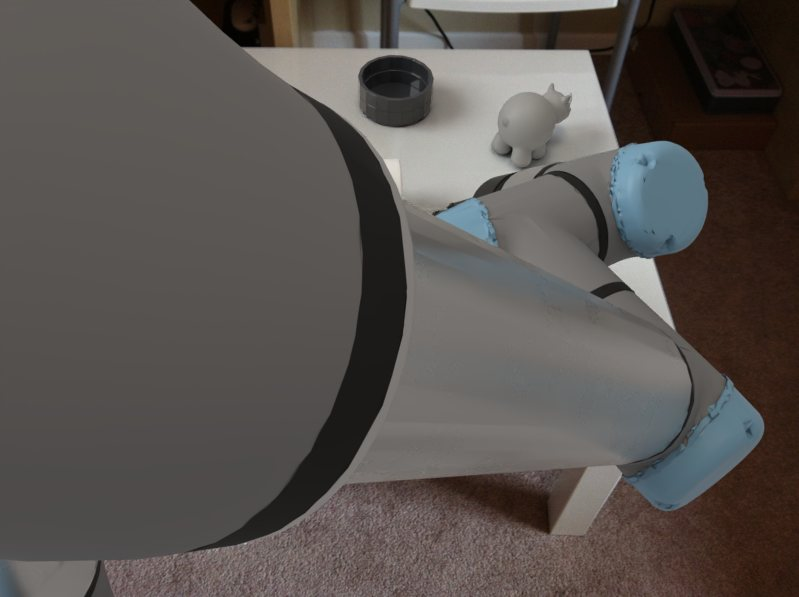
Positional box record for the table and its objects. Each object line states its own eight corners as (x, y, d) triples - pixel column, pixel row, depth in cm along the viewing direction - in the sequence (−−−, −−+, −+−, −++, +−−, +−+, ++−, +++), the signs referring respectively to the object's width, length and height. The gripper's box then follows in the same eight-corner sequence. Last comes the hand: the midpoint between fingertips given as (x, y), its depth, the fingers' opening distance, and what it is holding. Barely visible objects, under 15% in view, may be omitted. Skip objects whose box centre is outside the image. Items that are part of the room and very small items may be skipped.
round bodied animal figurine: (584, 142, 99) (600, 89, 92) (518, 178, 94) (530, 124, 87) (546, 114, 102) (559, 60, 95) (481, 147, 97) (489, 93, 91)
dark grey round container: (399, 138, 98) (400, 110, 94) (343, 105, 102) (342, 77, 98) (445, 103, 103) (448, 76, 99) (390, 73, 107) (391, 46, 103)
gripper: (488, 295, 59) (364, 293, 80) (600, 221, 64) (456, 237, 85) (450, 210, 57) (333, 231, 78) (567, 141, 62) (428, 178, 83)
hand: (397, 234), depth 81 cm, fingers closed
